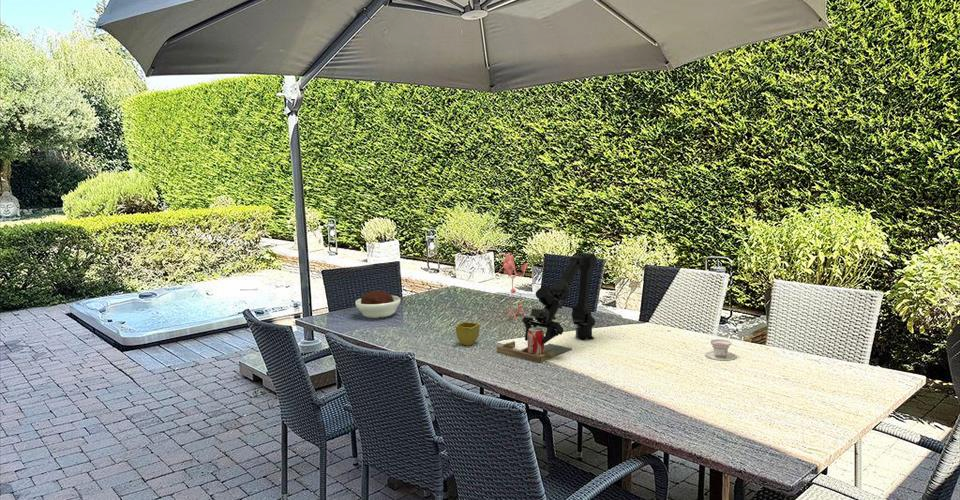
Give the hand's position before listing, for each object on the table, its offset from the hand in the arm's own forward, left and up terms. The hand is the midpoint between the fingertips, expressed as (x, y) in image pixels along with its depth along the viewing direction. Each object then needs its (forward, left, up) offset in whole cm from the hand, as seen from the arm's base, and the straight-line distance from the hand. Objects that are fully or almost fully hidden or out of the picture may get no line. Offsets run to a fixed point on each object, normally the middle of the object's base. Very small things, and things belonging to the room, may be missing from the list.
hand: (533, 342), depth 248 cm
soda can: (-1, -1, -7) cm, 7 cm away
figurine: (-10, -71, -7) cm, 72 cm away
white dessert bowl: (+58, -101, -7) cm, 116 cm away
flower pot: (+22, -30, -7) cm, 38 cm away
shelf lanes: (+2, -5, -7) cm, 9 cm away
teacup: (-71, +24, -7) cm, 76 cm away
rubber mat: (-10, -7, -7) cm, 14 cm away
